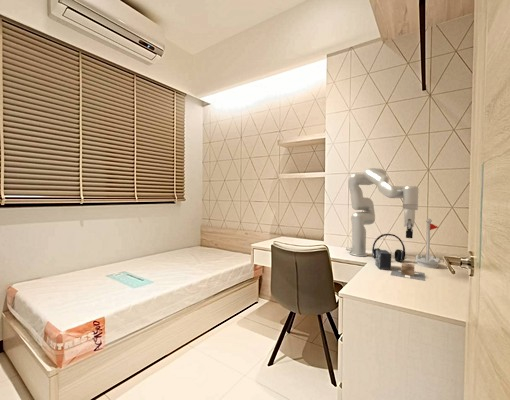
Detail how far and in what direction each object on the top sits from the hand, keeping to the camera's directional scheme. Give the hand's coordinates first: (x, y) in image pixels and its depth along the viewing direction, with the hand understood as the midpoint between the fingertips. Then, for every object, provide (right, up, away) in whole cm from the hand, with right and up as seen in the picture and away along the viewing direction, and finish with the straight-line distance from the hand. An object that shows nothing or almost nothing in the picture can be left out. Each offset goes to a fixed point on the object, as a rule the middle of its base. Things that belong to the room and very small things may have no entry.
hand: (409, 236), depth 147 cm
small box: (-13, -20, +5) cm, 24 cm away
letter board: (-5, -20, -7) cm, 22 cm away
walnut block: (-5, -20, -7) cm, 21 cm away
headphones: (0, -20, +23) cm, 31 cm away
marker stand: (+20, -20, +13) cm, 31 cm away
